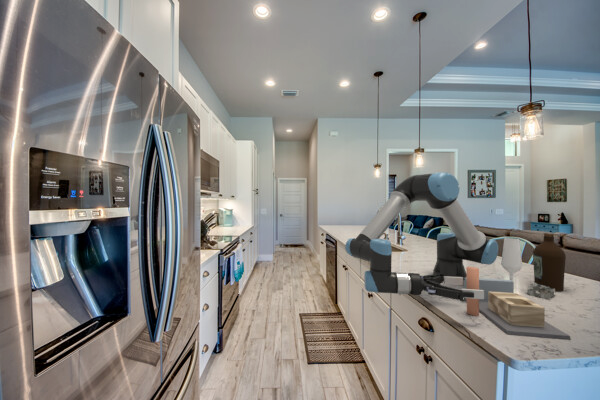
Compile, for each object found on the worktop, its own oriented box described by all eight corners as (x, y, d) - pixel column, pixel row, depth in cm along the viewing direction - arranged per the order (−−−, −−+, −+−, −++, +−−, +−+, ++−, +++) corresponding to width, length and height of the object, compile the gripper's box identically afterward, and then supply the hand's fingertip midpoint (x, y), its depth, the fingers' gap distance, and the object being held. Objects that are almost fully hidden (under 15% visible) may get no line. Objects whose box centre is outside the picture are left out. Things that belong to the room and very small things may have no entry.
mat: (570, 339, 70) (570, 336, 70) (507, 334, 73) (507, 330, 73) (508, 302, 96) (508, 299, 96) (463, 299, 98) (463, 297, 98)
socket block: (544, 327, 74) (544, 307, 74) (511, 324, 76) (511, 305, 76) (516, 310, 86) (516, 293, 86) (488, 308, 88) (488, 291, 88)
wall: (513, 302, 93) (513, 281, 93) (467, 299, 95) (467, 279, 95) (509, 300, 95) (509, 279, 95) (464, 297, 98) (464, 277, 98)
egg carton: (547, 300, 98) (548, 290, 98) (523, 294, 105) (524, 285, 105) (557, 295, 103) (557, 286, 103) (534, 290, 110) (534, 281, 110)
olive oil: (557, 285, 115) (557, 232, 115) (571, 293, 105) (571, 235, 106) (528, 282, 119) (528, 231, 120) (539, 289, 110) (539, 234, 110)
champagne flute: (497, 294, 103) (497, 238, 104) (507, 292, 106) (507, 237, 106) (516, 300, 97) (516, 240, 97) (526, 298, 100) (526, 239, 100)
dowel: (466, 313, 86) (466, 268, 86) (467, 310, 88) (466, 266, 89) (478, 316, 83) (478, 270, 83) (479, 313, 86) (479, 267, 86)
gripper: (400, 282, 101) (455, 285, 98) (418, 308, 77) (494, 314, 73) (400, 264, 102) (455, 267, 98) (418, 284, 77) (494, 289, 73)
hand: (472, 287), depth 86 cm, fingers open, 13 cm apart
